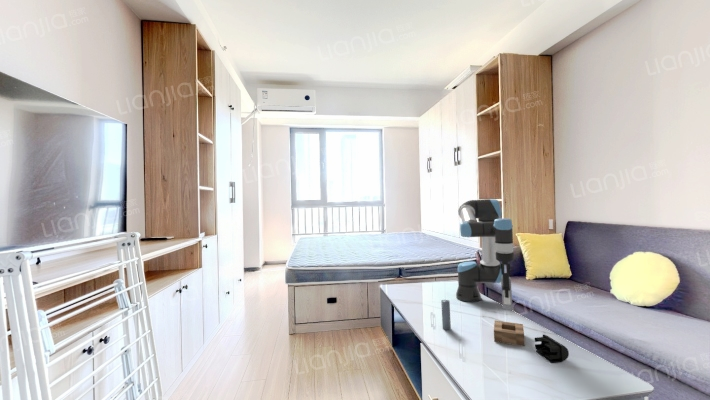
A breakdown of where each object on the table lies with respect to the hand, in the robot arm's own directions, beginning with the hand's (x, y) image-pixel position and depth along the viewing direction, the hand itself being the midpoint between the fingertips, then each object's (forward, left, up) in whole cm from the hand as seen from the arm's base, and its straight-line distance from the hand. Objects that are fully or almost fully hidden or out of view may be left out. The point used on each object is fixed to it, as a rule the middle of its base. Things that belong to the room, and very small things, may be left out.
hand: (507, 302), depth 134 cm
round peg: (0, -28, -17) cm, 33 cm away
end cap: (+11, +15, -17) cm, 25 cm away
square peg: (0, 0, -3) cm, 3 cm away
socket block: (0, 0, -17) cm, 17 cm away
